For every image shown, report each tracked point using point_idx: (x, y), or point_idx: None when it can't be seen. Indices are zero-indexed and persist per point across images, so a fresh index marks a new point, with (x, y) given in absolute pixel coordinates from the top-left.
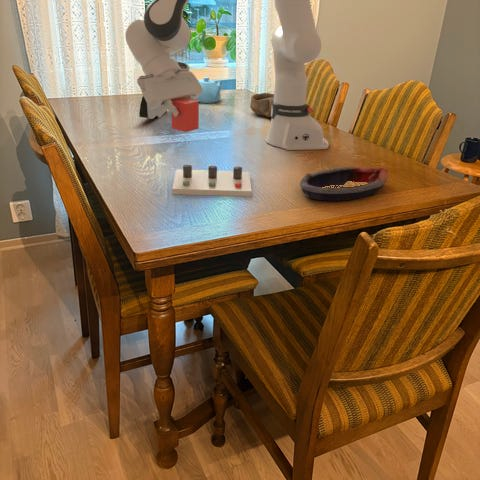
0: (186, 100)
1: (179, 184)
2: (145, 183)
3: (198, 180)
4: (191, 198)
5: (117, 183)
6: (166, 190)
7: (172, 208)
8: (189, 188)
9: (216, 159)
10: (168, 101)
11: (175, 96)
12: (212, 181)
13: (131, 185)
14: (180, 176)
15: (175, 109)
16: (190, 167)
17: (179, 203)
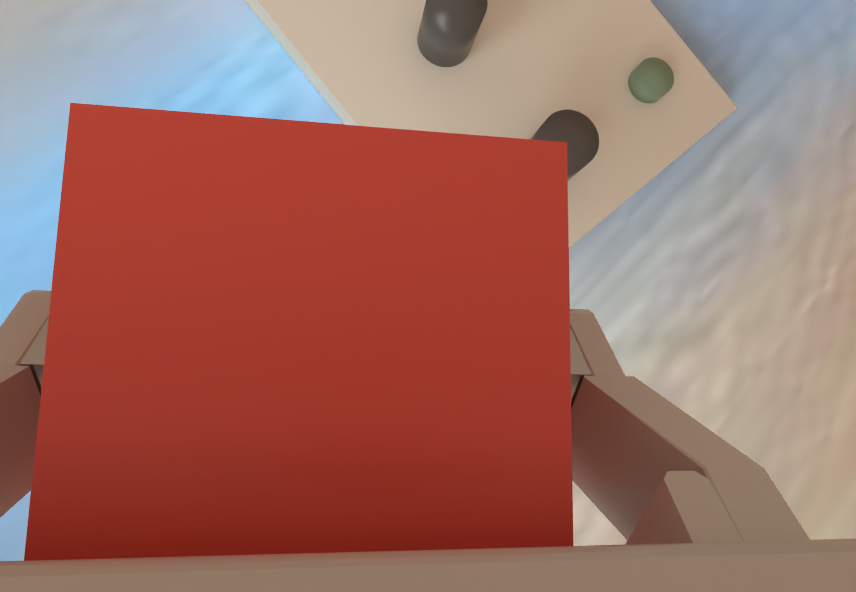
0: (258, 378)
1: (668, 116)
2: (723, 334)
3: (545, 74)
4: (685, 14)
5: (833, 449)
6: (706, 176)
7: (823, 12)
8: (668, 39)
9: None
10: (778, 521)
11: (575, 553)
12: (499, 2)
13: (795, 368)
14: (575, 196)
15: (616, 359)
16: (570, 110)
17: (765, 22)
